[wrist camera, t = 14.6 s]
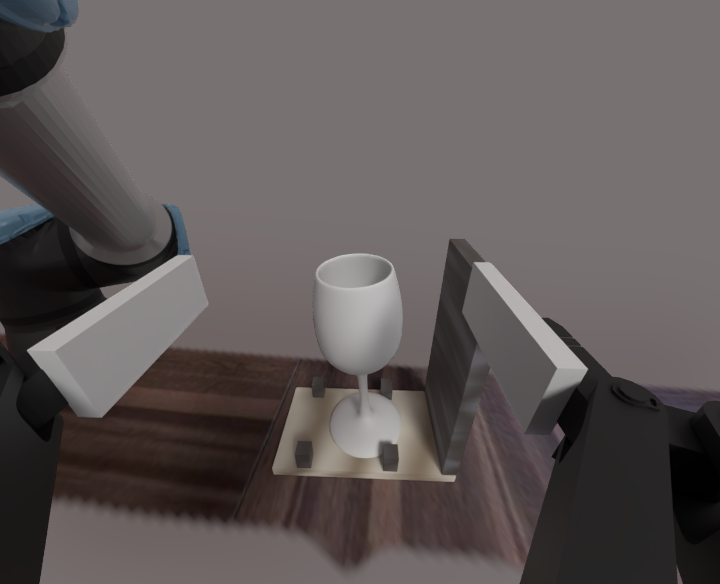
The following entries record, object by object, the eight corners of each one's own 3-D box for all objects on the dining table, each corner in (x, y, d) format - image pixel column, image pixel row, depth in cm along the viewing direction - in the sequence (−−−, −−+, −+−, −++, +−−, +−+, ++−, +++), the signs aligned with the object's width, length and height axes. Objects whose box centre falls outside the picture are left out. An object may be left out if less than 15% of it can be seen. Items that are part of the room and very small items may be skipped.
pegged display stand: (273, 474, 30) (223, 286, 19) (297, 393, 40) (273, 236, 28) (454, 481, 30) (513, 292, 18) (433, 397, 39) (464, 239, 28)
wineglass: (413, 412, 35) (424, 259, 24) (378, 475, 29) (371, 309, 18) (356, 383, 39) (344, 243, 28) (315, 433, 33) (279, 279, 22)
